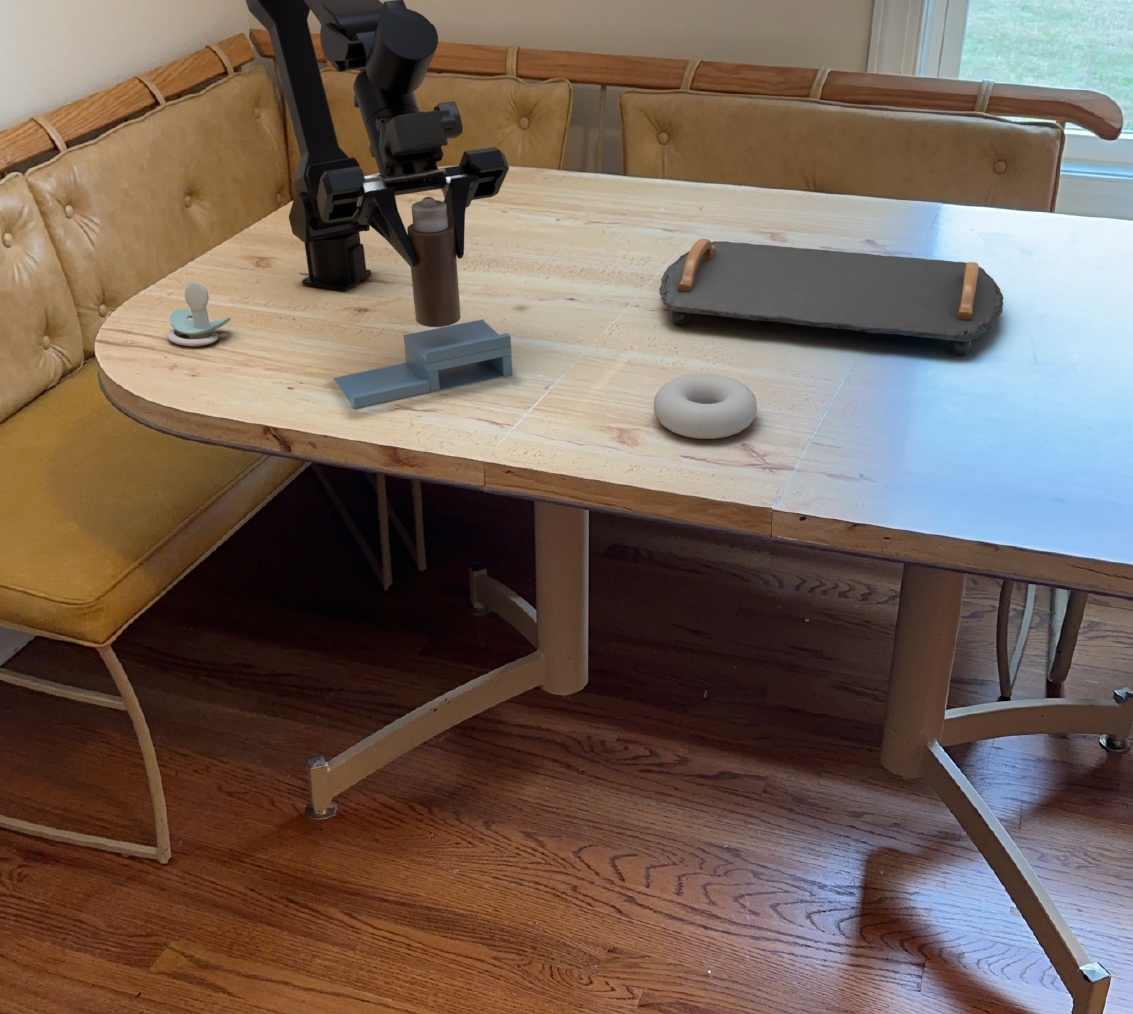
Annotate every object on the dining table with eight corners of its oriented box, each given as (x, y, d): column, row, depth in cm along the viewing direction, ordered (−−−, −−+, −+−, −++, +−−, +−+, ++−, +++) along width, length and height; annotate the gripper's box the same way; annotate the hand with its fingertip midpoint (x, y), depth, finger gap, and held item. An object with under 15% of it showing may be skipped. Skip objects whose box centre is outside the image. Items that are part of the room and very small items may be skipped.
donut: (743, 396, 122) (646, 400, 122) (746, 365, 120) (647, 369, 120) (766, 443, 114) (661, 448, 113) (769, 410, 112) (662, 415, 111)
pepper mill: (407, 322, 123) (395, 201, 116) (430, 306, 126) (419, 187, 119) (446, 330, 121) (437, 206, 114) (468, 313, 125) (460, 192, 118)
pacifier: (206, 353, 134) (240, 332, 139) (195, 301, 131) (230, 280, 135) (155, 343, 137) (190, 322, 141) (142, 292, 133) (178, 272, 138)
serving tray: (1001, 288, 145) (1010, 237, 142) (996, 367, 126) (1006, 312, 123) (686, 258, 156) (688, 211, 152) (639, 328, 137) (639, 276, 134)
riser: (333, 384, 126) (327, 338, 124) (484, 352, 132) (482, 308, 130) (355, 415, 120) (349, 368, 118) (513, 381, 126) (510, 335, 123)
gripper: (308, 85, 111) (355, 237, 108) (497, 63, 117) (545, 206, 115) (299, 150, 121) (342, 290, 119) (473, 126, 128) (517, 259, 125)
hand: (437, 260), depth 119 cm, fingers closed on pepper mill, 4 cm apart
